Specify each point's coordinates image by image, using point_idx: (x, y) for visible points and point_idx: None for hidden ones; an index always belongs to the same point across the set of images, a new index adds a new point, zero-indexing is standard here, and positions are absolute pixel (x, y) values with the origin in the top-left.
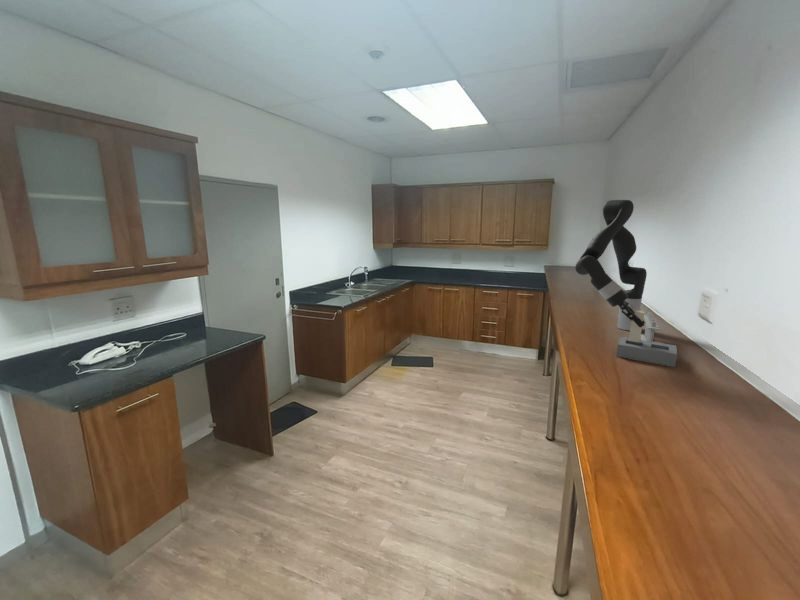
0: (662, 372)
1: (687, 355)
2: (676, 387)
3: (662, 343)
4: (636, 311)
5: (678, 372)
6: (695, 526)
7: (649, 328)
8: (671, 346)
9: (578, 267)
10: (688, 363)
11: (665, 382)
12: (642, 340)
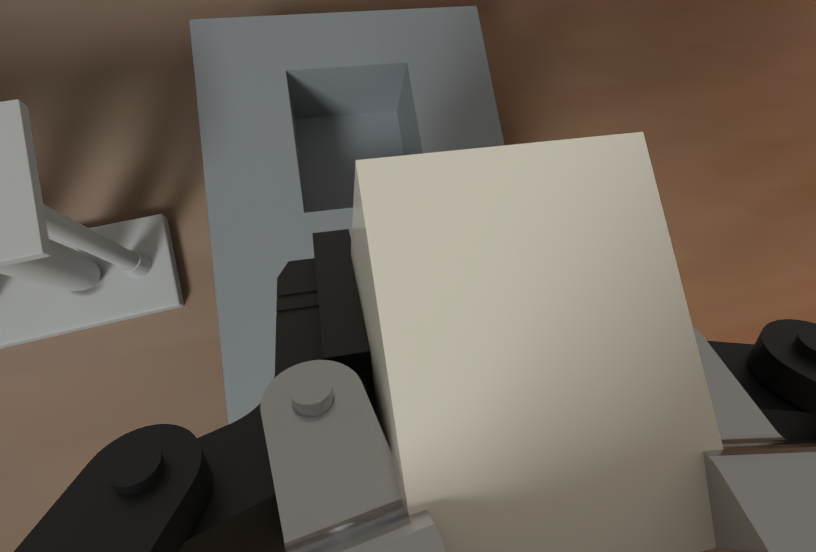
0: (607, 131)
1: (75, 18)
2: (776, 54)
3: (201, 127)
4: (591, 423)
5: (532, 56)
6: None
7: (47, 233)
8: (255, 52)
9: None
10: (290, 11)
11: (754, 103)
12: (226, 307)
